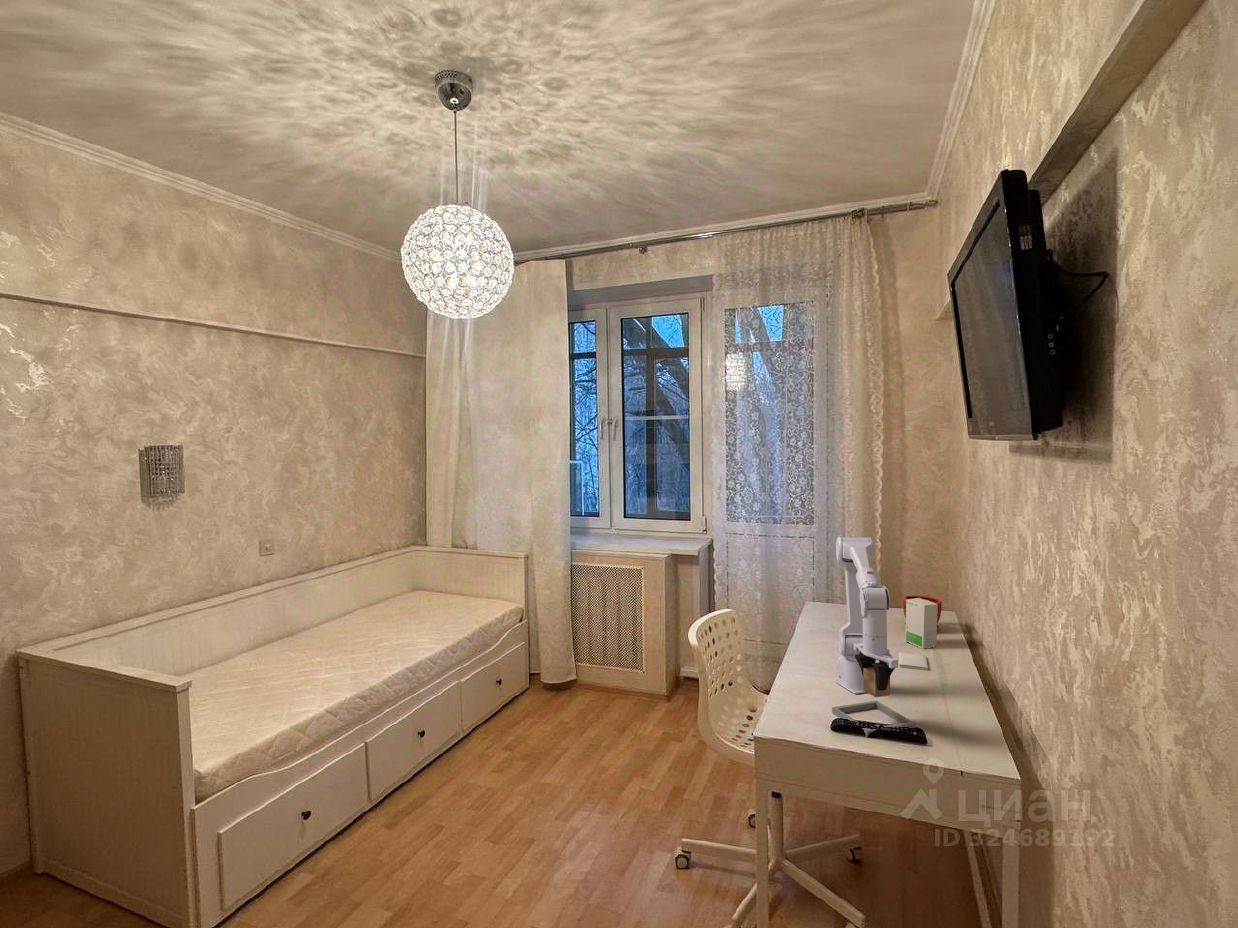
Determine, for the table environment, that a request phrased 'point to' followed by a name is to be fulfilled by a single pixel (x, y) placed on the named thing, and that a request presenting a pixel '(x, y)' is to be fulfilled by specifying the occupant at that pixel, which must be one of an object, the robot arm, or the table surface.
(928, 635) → the skincare box
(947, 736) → the table surface
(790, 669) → the table surface
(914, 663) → the hard drive
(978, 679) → the table surface
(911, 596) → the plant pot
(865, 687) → the walnut block
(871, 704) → the tray frame
